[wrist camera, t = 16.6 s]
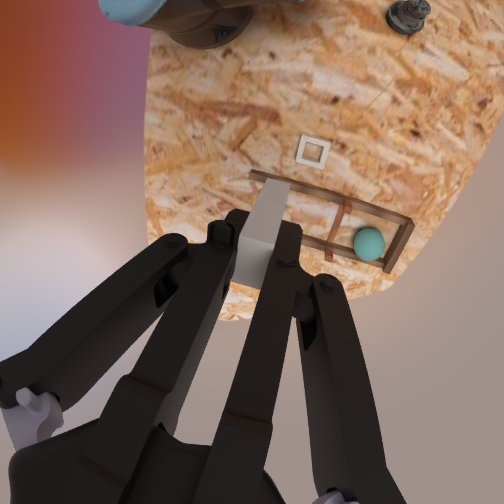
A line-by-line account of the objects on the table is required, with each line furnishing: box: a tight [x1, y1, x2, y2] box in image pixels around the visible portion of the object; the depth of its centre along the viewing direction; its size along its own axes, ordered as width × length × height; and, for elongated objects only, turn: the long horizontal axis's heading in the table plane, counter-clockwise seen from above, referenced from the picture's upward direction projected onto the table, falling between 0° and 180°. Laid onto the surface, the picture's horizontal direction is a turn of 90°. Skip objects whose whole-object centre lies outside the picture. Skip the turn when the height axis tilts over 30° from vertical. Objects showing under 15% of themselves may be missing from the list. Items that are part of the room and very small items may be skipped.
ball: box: [353, 228, 385, 261], centre depth 47 cm, size 6×6×6 cm
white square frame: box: [295, 133, 331, 170], centre depth 42 cm, size 5×5×2 cm
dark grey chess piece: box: [386, 0, 431, 34], centre depth 20 cm, size 6×6×12 cm
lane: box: [248, 170, 415, 274], centre depth 47 cm, size 31×11×5 cm, turn 80°
